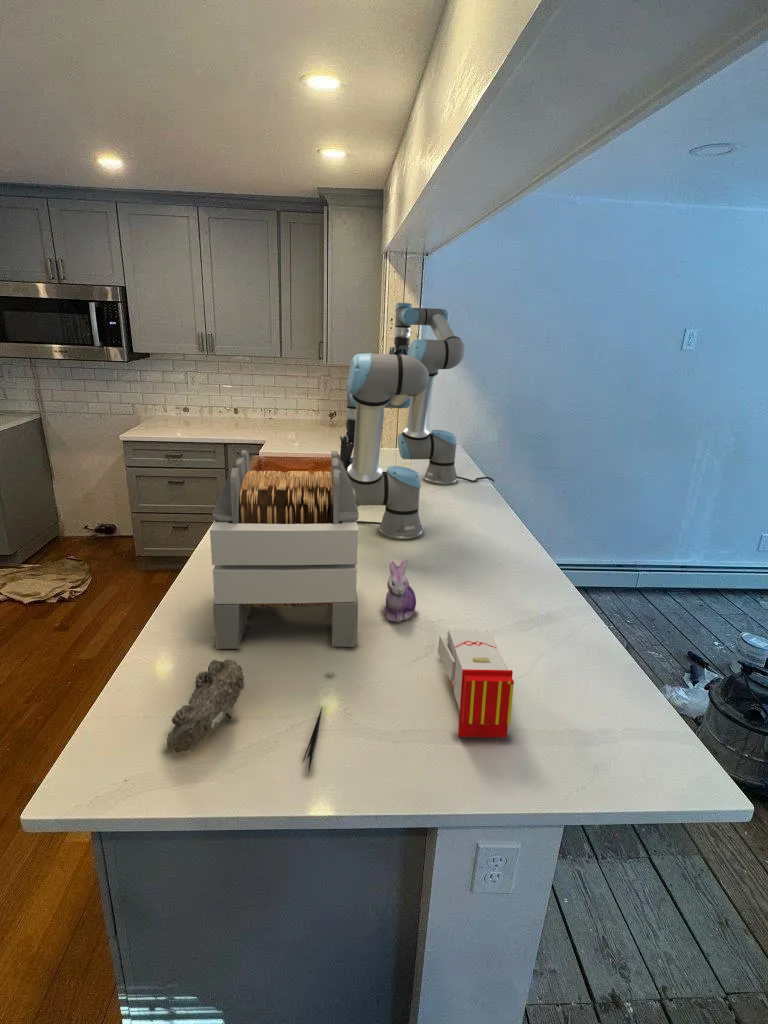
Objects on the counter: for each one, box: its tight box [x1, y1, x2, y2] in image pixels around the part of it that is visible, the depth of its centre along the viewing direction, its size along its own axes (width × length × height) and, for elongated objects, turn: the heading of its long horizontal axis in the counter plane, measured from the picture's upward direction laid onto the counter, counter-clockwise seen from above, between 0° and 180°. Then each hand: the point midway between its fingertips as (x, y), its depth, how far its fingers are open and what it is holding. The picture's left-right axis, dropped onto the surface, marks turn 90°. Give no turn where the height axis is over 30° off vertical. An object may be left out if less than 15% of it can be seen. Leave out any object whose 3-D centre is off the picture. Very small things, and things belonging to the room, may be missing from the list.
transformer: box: [209, 449, 360, 651], centre depth 139 cm, size 34×33×41 cm
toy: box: [437, 628, 515, 738], centre depth 117 cm, size 12×13×30 cm
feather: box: [301, 673, 332, 771], centre depth 108 cm, size 2×28×2 cm
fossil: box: [166, 658, 245, 754], centre depth 106 cm, size 22×10×15 cm
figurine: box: [384, 558, 417, 623], centre depth 145 cm, size 9×10×15 cm
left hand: (354, 477), depth 225 cm, fingers closed on block, 6 cm apart
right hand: (399, 381), depth 281 cm, fingers open, 13 cm apart
